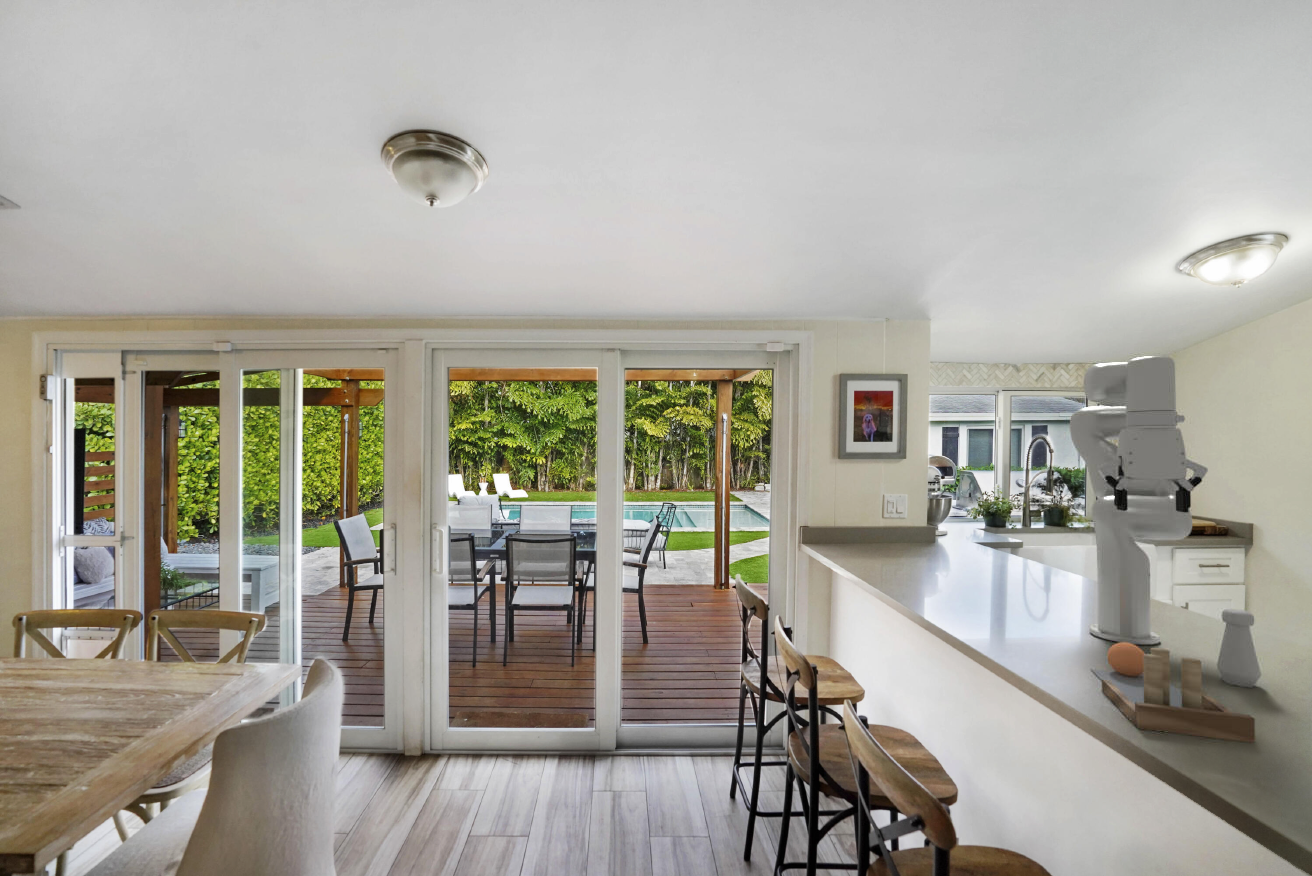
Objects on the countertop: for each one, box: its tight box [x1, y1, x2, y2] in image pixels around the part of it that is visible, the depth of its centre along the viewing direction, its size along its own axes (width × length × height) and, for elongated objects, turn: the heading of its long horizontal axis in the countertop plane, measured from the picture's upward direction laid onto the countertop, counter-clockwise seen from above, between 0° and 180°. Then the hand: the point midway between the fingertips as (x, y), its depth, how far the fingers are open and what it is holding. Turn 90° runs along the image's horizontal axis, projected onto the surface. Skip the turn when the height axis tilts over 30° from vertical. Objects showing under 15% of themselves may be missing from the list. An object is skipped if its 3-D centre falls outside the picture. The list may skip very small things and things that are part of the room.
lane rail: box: [1101, 679, 1256, 744], centre depth 100 cm, size 16×14×4 cm
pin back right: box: [1143, 653, 1163, 705], centre depth 100 cm, size 2×2×9 cm
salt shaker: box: [1216, 608, 1262, 688], centre depth 113 cm, size 6×6×13 cm
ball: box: [1106, 642, 1146, 677], centre depth 116 cm, size 6×6×6 cm
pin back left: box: [1180, 656, 1203, 710], centre depth 98 cm, size 2×2×9 cm
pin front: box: [1150, 647, 1171, 706], centre depth 103 cm, size 2×2×9 cm
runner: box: [1090, 668, 1204, 710], centre depth 105 cm, size 26×11×1 cm, turn 161°
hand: (1151, 511), depth 120 cm, fingers open, 9 cm apart
